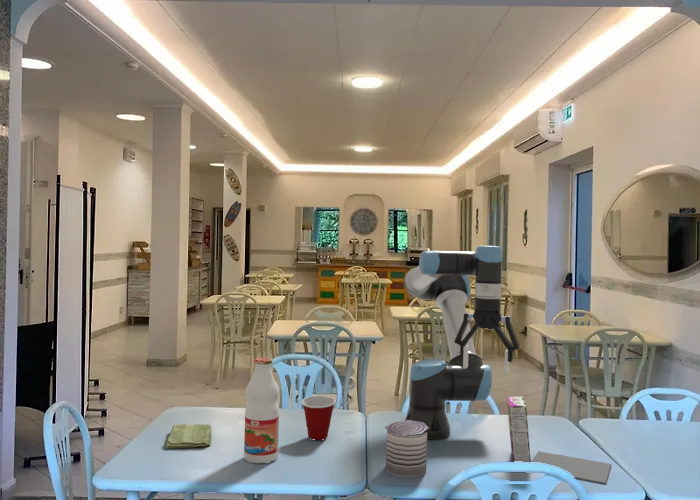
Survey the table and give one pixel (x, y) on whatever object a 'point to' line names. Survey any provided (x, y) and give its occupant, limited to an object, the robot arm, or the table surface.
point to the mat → (576, 466)
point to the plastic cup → (318, 415)
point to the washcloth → (189, 436)
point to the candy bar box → (518, 429)
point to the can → (406, 448)
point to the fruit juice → (261, 415)
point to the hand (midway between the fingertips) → (485, 370)
